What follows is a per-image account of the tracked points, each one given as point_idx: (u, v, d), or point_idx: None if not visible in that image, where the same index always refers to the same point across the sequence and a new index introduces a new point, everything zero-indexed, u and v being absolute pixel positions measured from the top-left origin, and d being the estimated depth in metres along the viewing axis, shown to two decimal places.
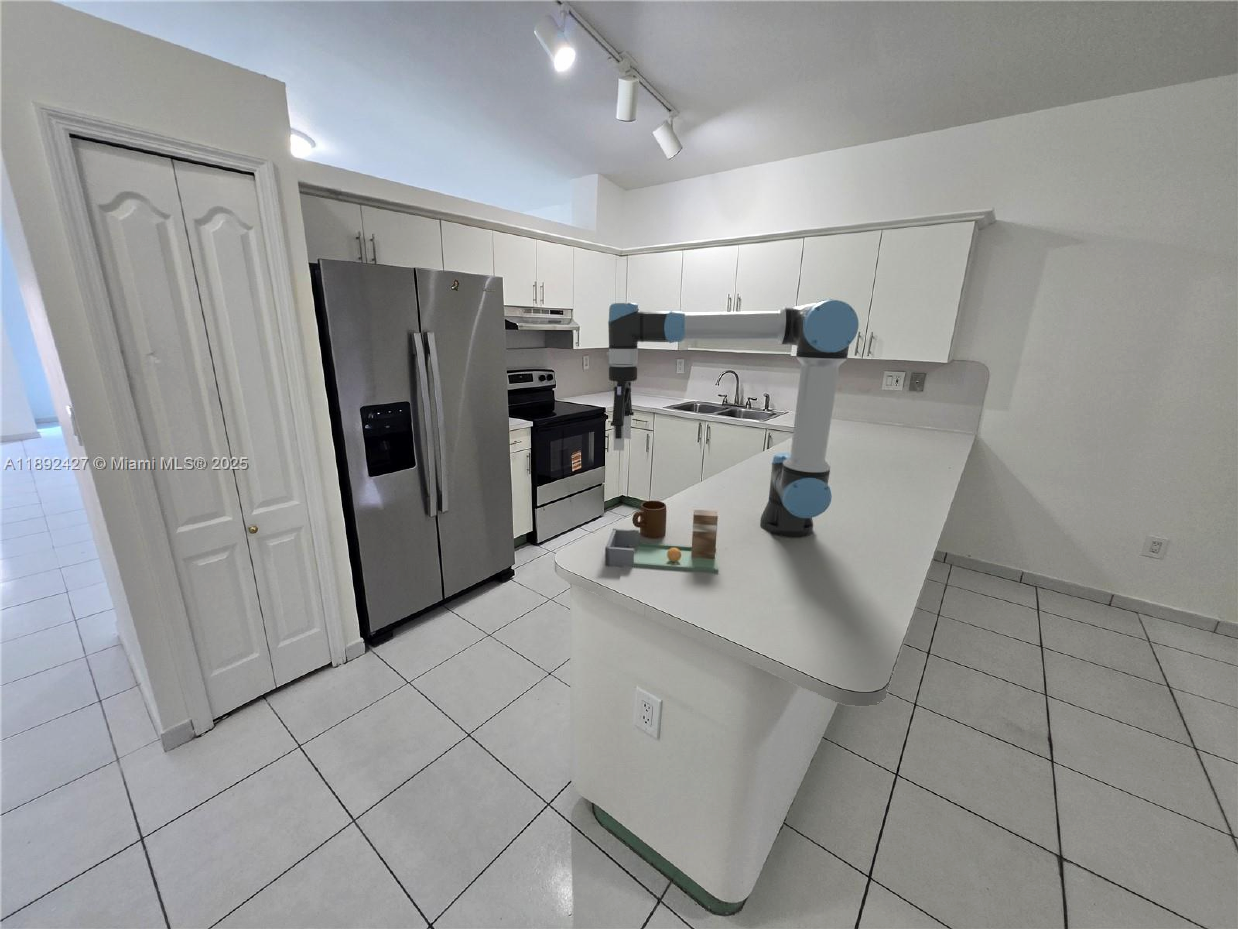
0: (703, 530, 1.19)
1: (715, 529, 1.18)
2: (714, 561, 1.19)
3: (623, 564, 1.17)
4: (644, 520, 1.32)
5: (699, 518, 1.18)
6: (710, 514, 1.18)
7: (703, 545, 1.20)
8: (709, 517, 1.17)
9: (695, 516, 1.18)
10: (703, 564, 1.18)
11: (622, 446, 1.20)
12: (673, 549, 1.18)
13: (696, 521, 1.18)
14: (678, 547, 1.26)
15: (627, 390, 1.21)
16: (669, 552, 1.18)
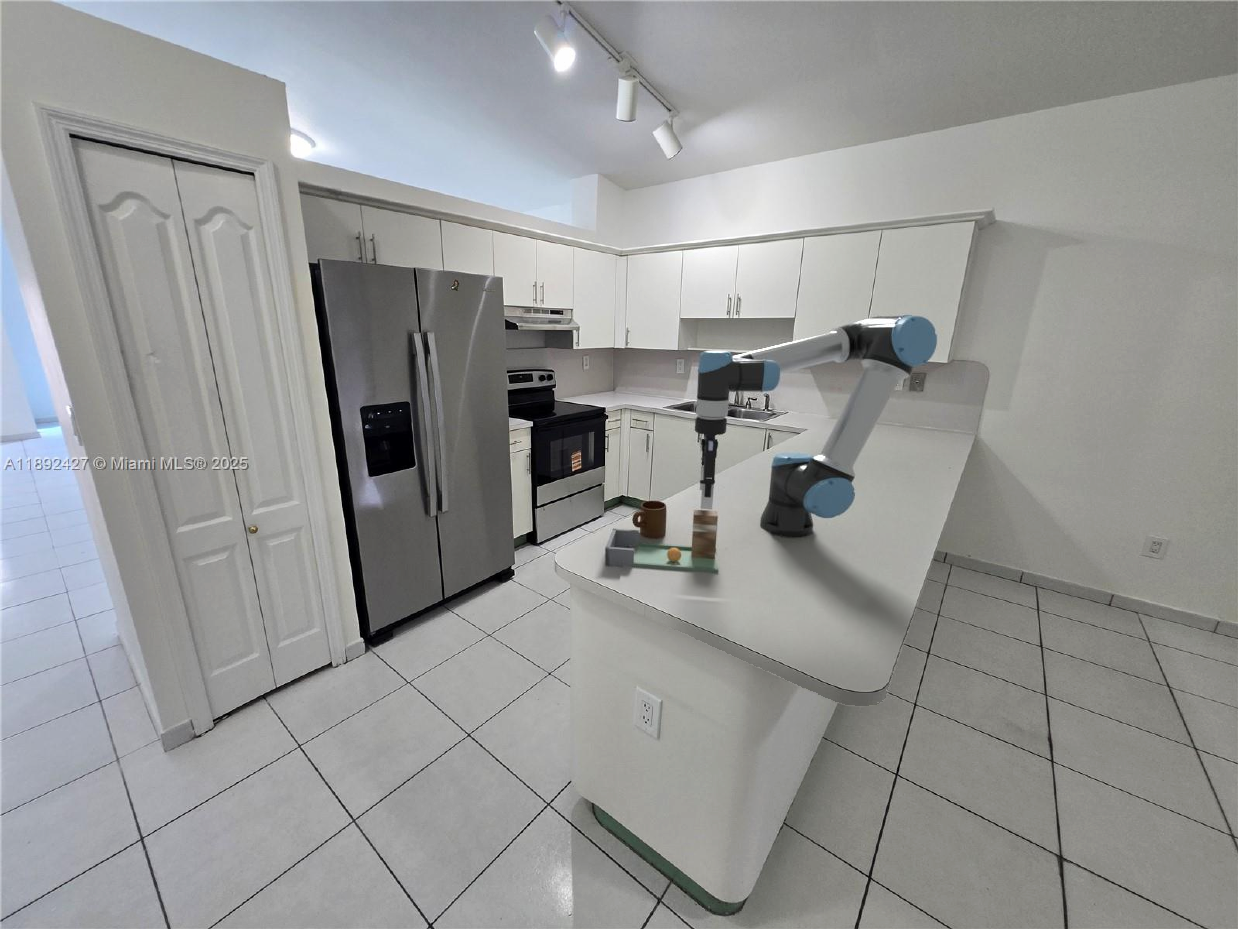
0: (703, 530, 1.19)
1: (715, 529, 1.18)
2: (714, 561, 1.19)
3: (623, 564, 1.17)
4: (644, 520, 1.32)
5: (699, 518, 1.18)
6: (710, 514, 1.18)
7: (703, 545, 1.20)
8: (709, 517, 1.17)
9: (695, 516, 1.18)
10: (703, 564, 1.18)
11: (710, 505, 1.11)
12: (673, 549, 1.18)
13: (696, 521, 1.18)
14: (678, 547, 1.26)
15: None
16: (669, 552, 1.18)
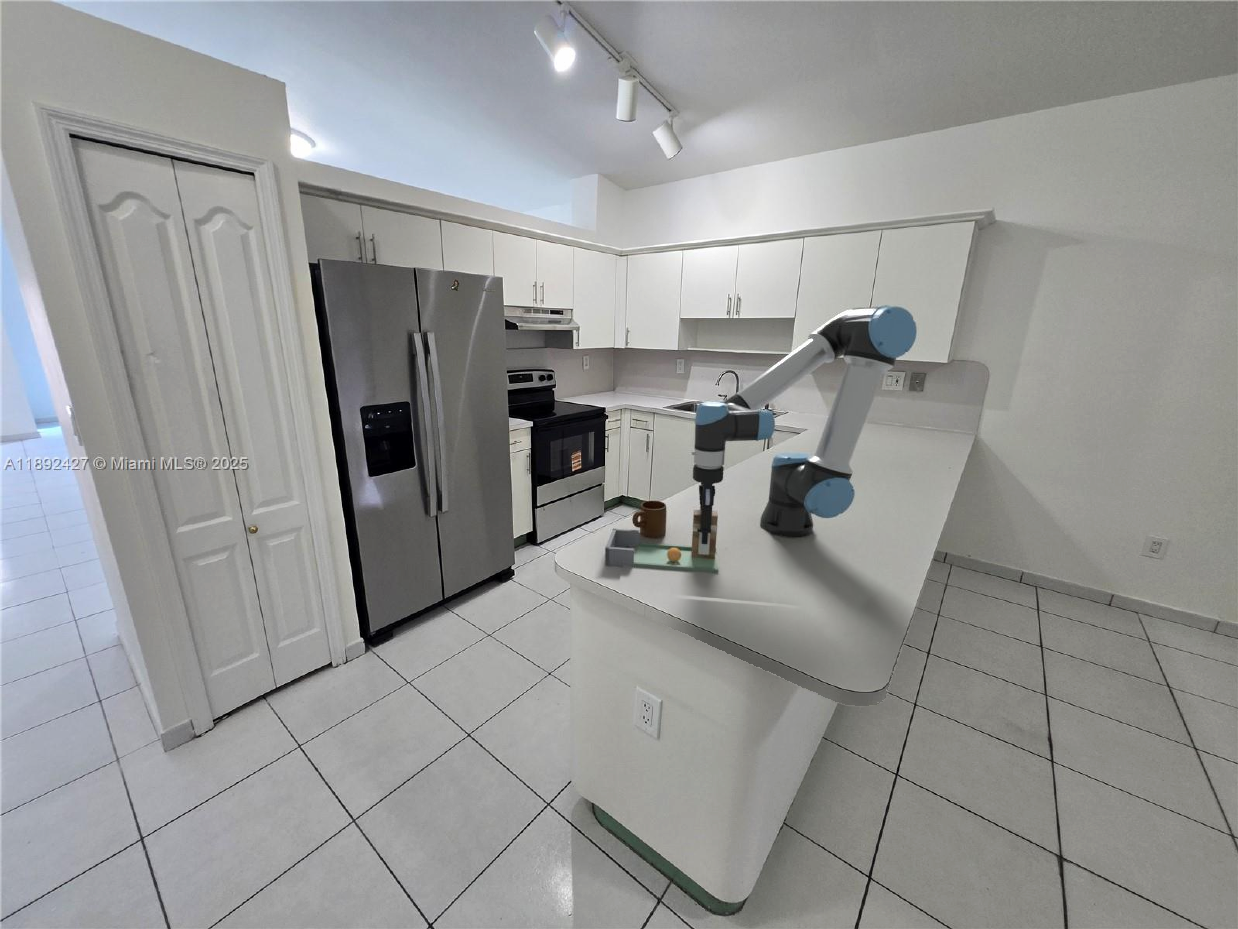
0: None
1: (715, 529, 1.18)
2: (714, 561, 1.19)
3: (623, 564, 1.17)
4: (644, 520, 1.32)
5: (699, 518, 1.18)
6: None
7: None
8: None
9: (695, 516, 1.18)
10: (703, 564, 1.18)
11: (707, 550, 1.19)
12: (673, 549, 1.18)
13: (696, 521, 1.18)
14: (678, 547, 1.26)
15: (713, 492, 1.15)
16: (669, 552, 1.18)
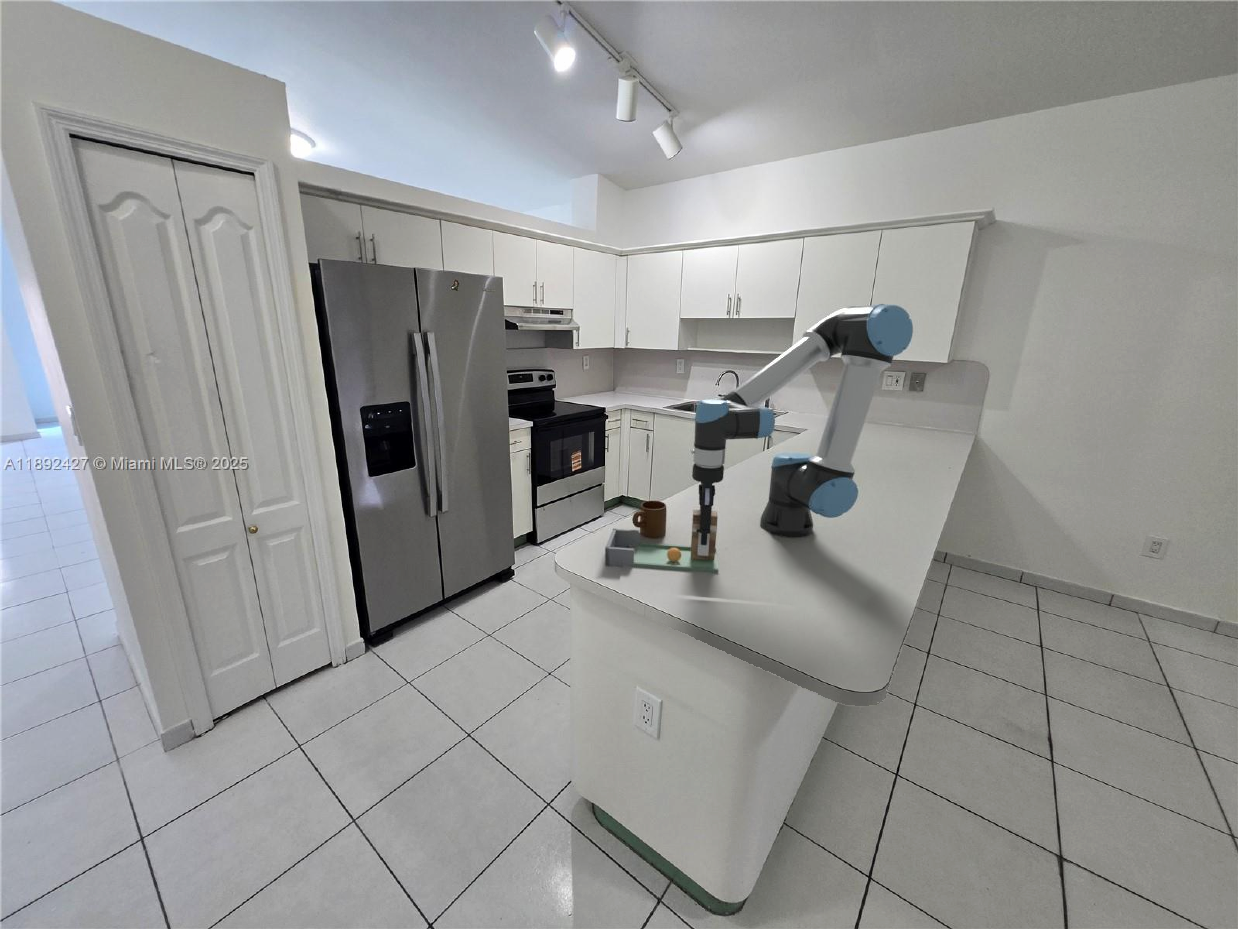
0: None
1: (715, 530, 1.15)
2: (714, 561, 1.19)
3: (623, 564, 1.17)
4: (644, 520, 1.32)
5: (698, 518, 1.15)
6: None
7: None
8: None
9: (694, 516, 1.15)
10: (703, 564, 1.18)
11: (707, 551, 1.17)
12: (673, 549, 1.18)
13: (695, 521, 1.16)
14: (678, 547, 1.26)
15: (713, 492, 1.13)
16: (669, 552, 1.18)
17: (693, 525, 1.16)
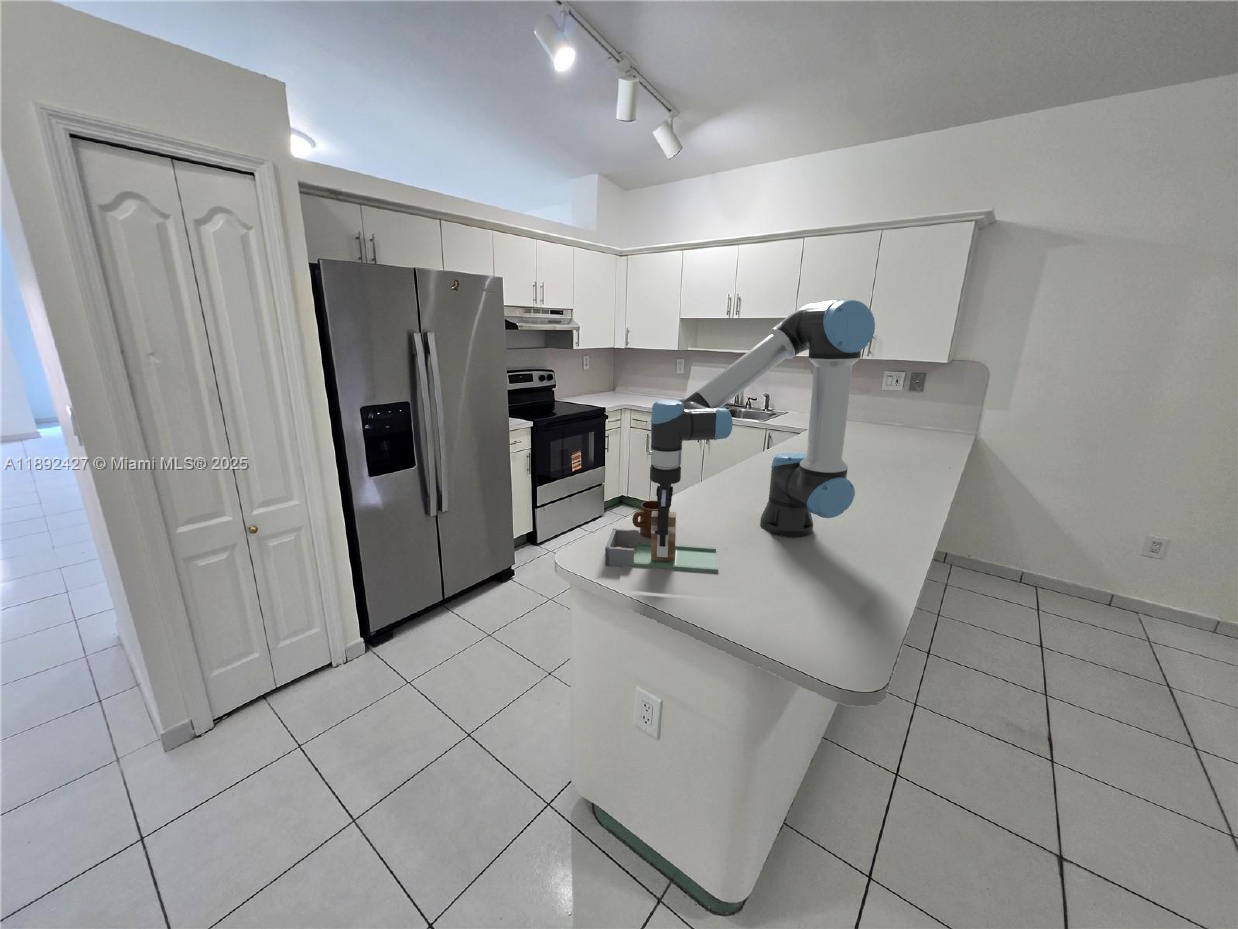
0: None
1: (673, 531, 1.15)
2: (714, 561, 1.19)
3: (623, 564, 1.17)
4: (644, 520, 1.32)
5: (657, 520, 1.15)
6: None
7: None
8: None
9: (653, 518, 1.15)
10: (703, 564, 1.18)
11: (666, 553, 1.16)
12: None
13: (654, 523, 1.15)
14: (678, 547, 1.26)
15: (670, 493, 1.12)
16: None
17: (652, 527, 1.15)
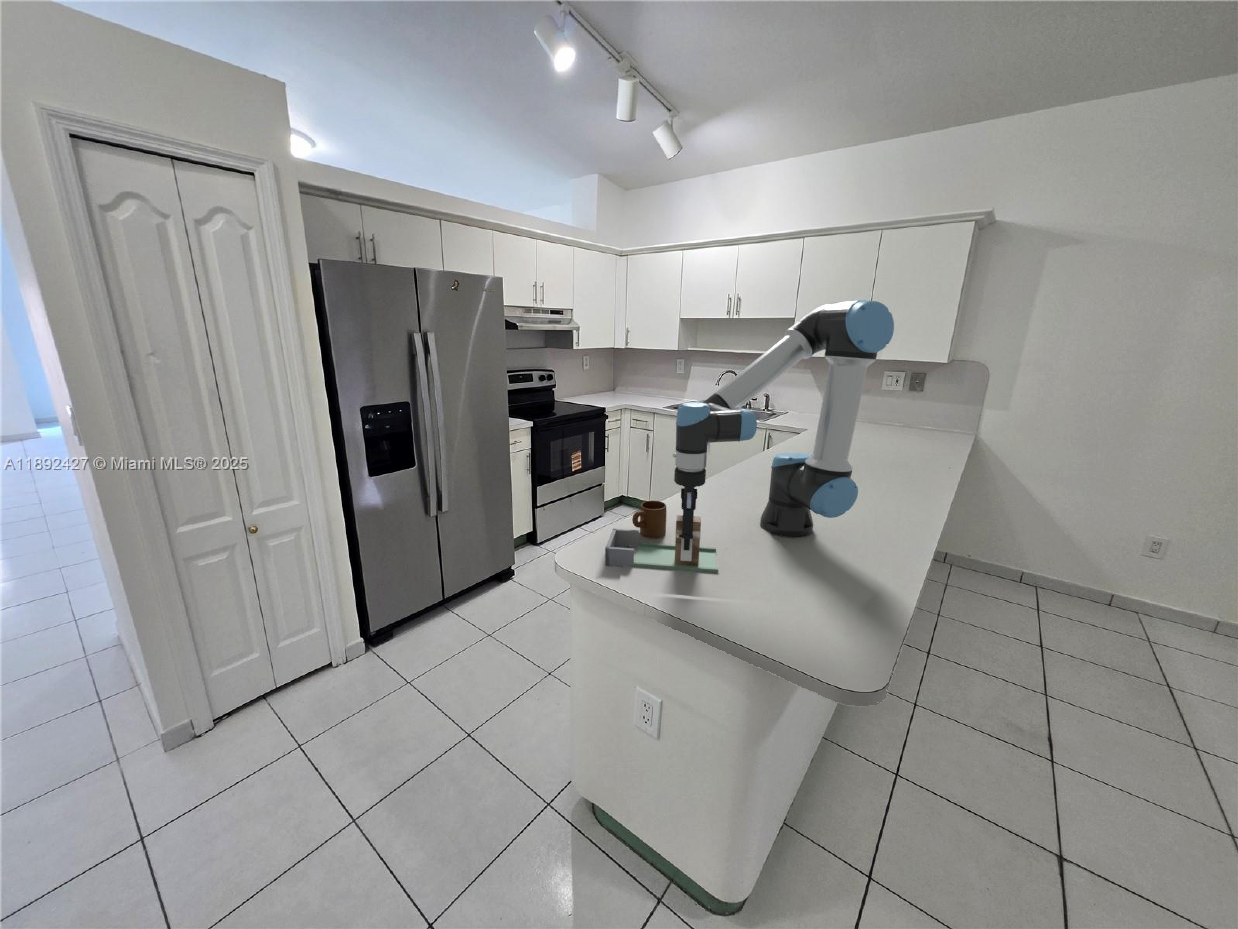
0: None
1: (698, 535, 1.14)
2: (714, 561, 1.19)
3: (623, 564, 1.17)
4: (644, 520, 1.32)
5: (682, 524, 1.14)
6: (693, 520, 1.14)
7: None
8: None
9: (678, 522, 1.14)
10: (703, 564, 1.18)
11: (690, 557, 1.14)
12: None
13: (679, 527, 1.15)
14: None
15: (695, 496, 1.11)
16: None
17: (676, 531, 1.15)
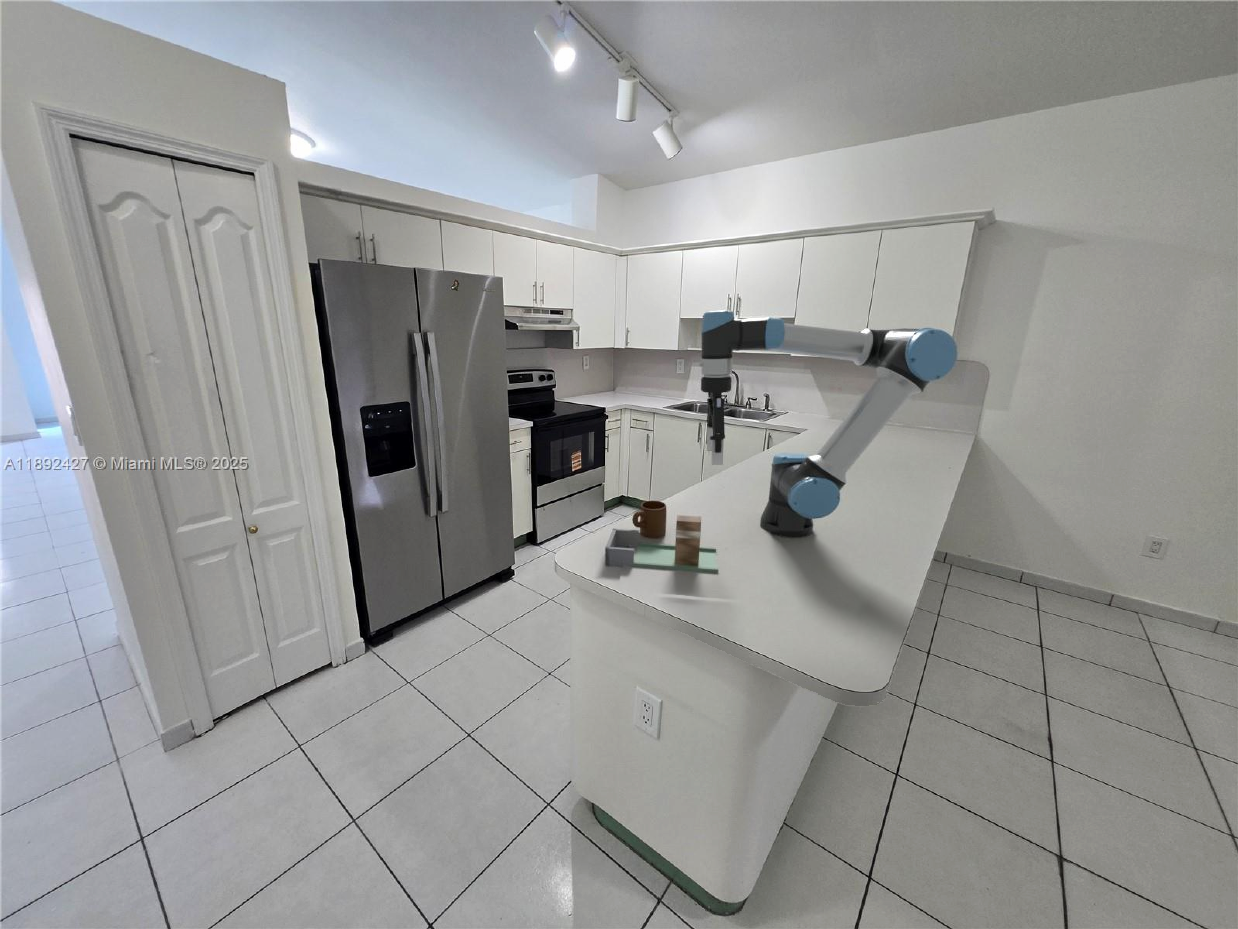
0: (686, 537, 1.15)
1: (698, 536, 1.14)
2: (714, 561, 1.19)
3: (623, 564, 1.17)
4: (644, 520, 1.32)
5: (682, 524, 1.14)
6: (693, 520, 1.14)
7: (686, 552, 1.16)
8: (692, 523, 1.14)
9: (678, 522, 1.14)
10: (703, 564, 1.18)
11: (721, 460, 1.15)
12: None
13: (679, 527, 1.15)
14: None
15: None
16: None
17: (677, 531, 1.15)
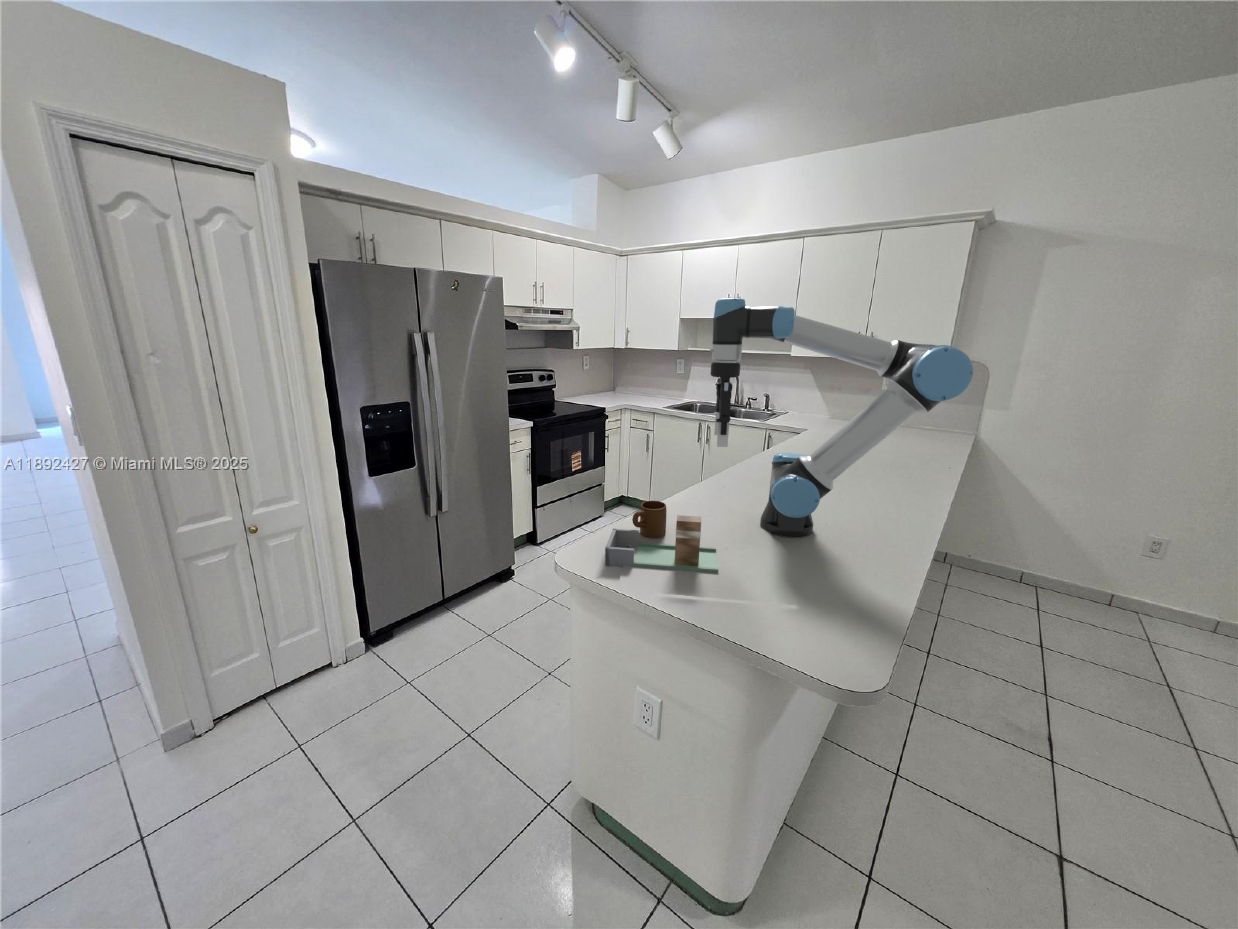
0: (686, 537, 1.15)
1: (698, 536, 1.14)
2: (714, 561, 1.19)
3: (623, 564, 1.17)
4: (644, 520, 1.32)
5: (682, 524, 1.14)
6: (693, 520, 1.14)
7: (686, 552, 1.16)
8: (692, 523, 1.14)
9: (678, 522, 1.14)
10: (703, 564, 1.18)
11: (726, 442, 1.19)
12: None
13: (679, 527, 1.15)
14: None
15: (730, 386, 1.20)
16: None
17: (677, 531, 1.15)
